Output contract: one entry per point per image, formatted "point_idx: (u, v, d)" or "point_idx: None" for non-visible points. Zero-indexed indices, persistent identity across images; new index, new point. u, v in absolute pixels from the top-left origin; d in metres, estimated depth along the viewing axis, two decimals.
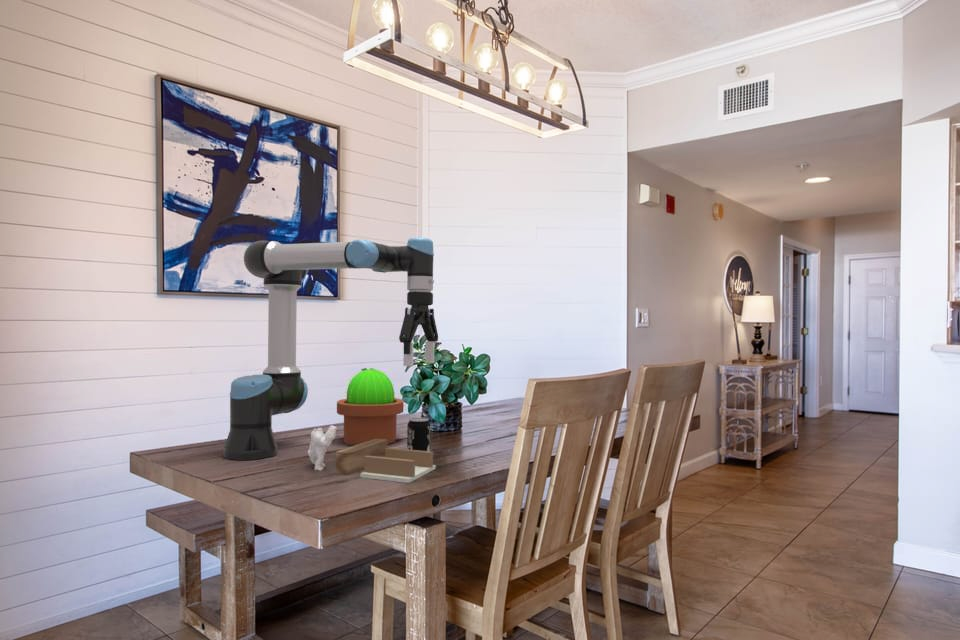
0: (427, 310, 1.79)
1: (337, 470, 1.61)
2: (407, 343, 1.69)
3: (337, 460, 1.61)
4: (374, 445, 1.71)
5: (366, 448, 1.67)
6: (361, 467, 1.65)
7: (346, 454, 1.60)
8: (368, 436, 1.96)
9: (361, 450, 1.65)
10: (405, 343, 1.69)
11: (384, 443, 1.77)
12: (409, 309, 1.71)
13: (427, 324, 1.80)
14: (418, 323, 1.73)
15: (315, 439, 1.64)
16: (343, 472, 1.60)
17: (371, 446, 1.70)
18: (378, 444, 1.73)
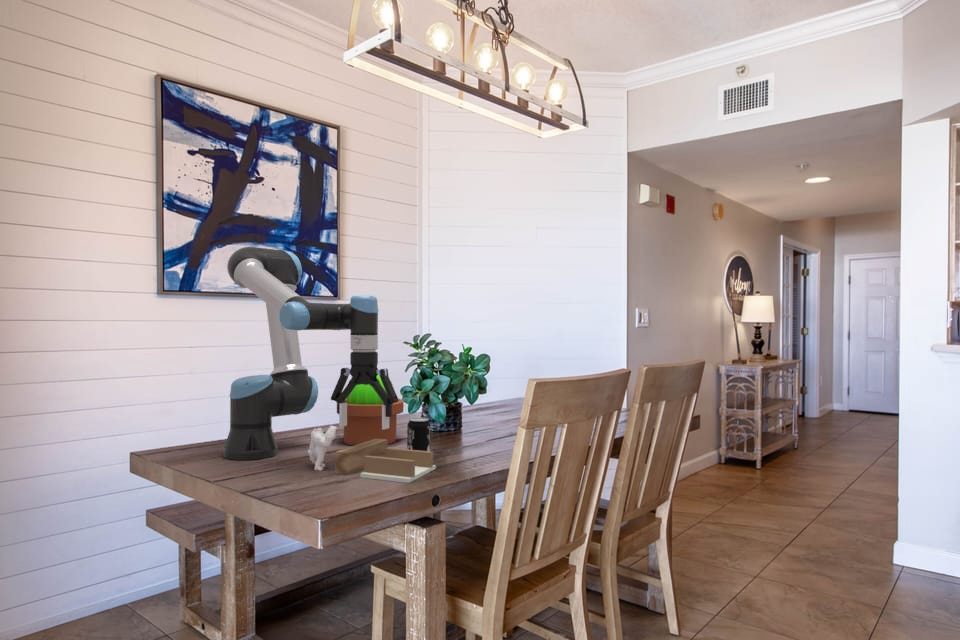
0: (370, 371, 1.68)
1: (337, 470, 1.61)
2: (337, 403, 1.72)
3: (337, 460, 1.61)
4: (374, 445, 1.71)
5: (366, 448, 1.67)
6: (361, 467, 1.65)
7: (346, 454, 1.60)
8: (368, 436, 1.96)
9: (361, 450, 1.65)
10: None
11: (384, 443, 1.77)
12: None
13: None
14: (350, 384, 1.69)
15: (315, 439, 1.64)
16: (343, 472, 1.60)
17: (371, 446, 1.70)
18: (378, 444, 1.73)
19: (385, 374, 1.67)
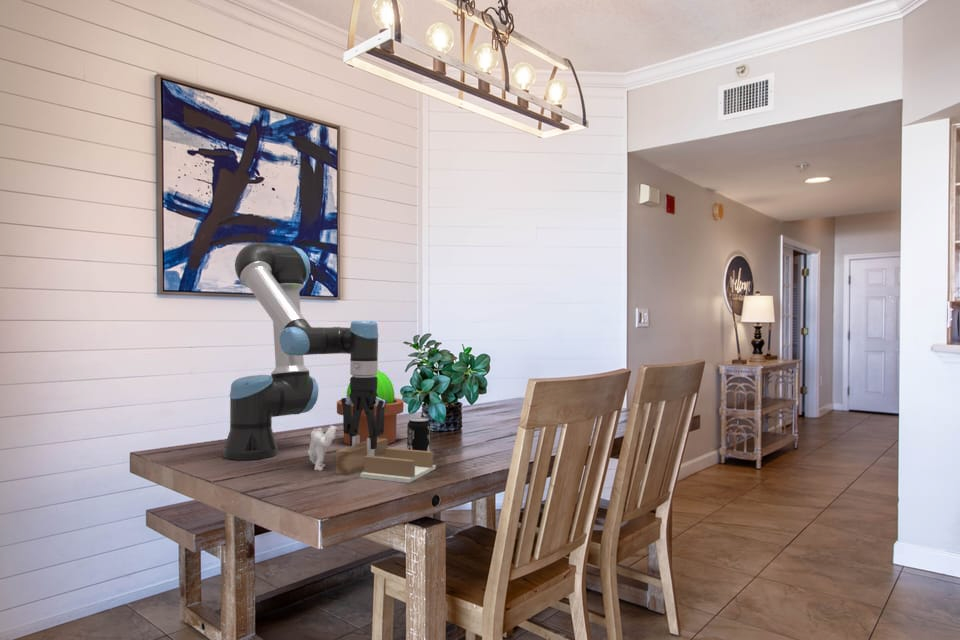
0: (370, 396, 1.67)
1: (338, 469, 1.61)
2: (350, 436, 1.70)
3: (338, 459, 1.61)
4: None
5: (366, 447, 1.67)
6: (361, 466, 1.65)
7: (347, 453, 1.60)
8: None
9: (362, 449, 1.65)
10: None
11: (385, 442, 1.77)
12: None
13: None
14: (354, 412, 1.69)
15: (315, 439, 1.64)
16: (344, 471, 1.60)
17: None
18: (378, 443, 1.73)
19: (382, 406, 1.67)
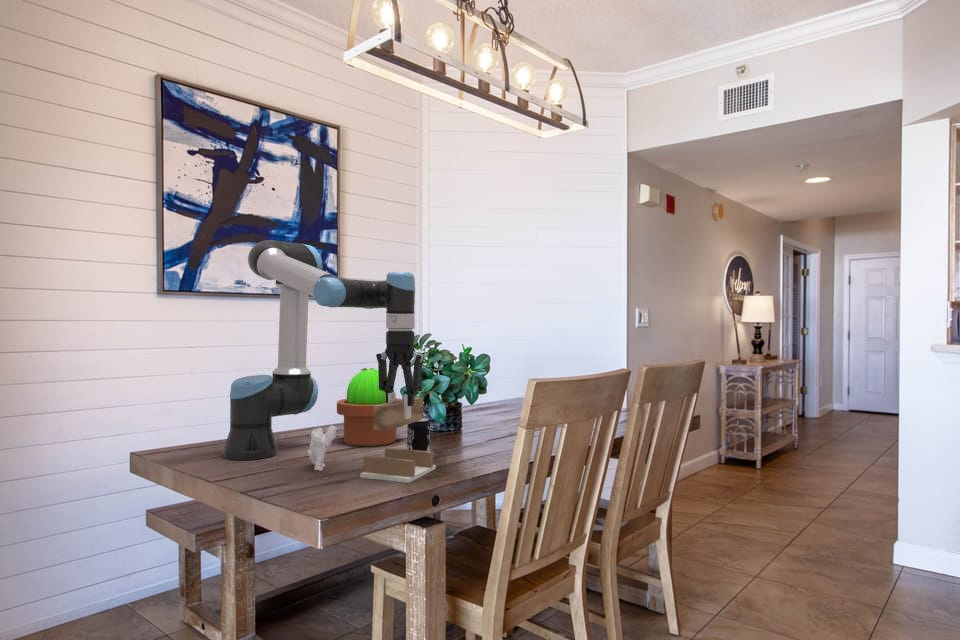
0: (407, 350, 1.60)
1: (375, 425, 1.53)
2: (386, 393, 1.63)
3: (375, 415, 1.53)
4: None
5: (403, 404, 1.60)
6: (399, 423, 1.58)
7: (385, 408, 1.52)
8: (368, 436, 1.96)
9: (399, 405, 1.58)
10: None
11: (420, 401, 1.69)
12: None
13: None
14: (390, 368, 1.62)
15: (315, 439, 1.64)
16: (382, 427, 1.53)
17: None
18: (414, 401, 1.66)
19: (420, 361, 1.60)
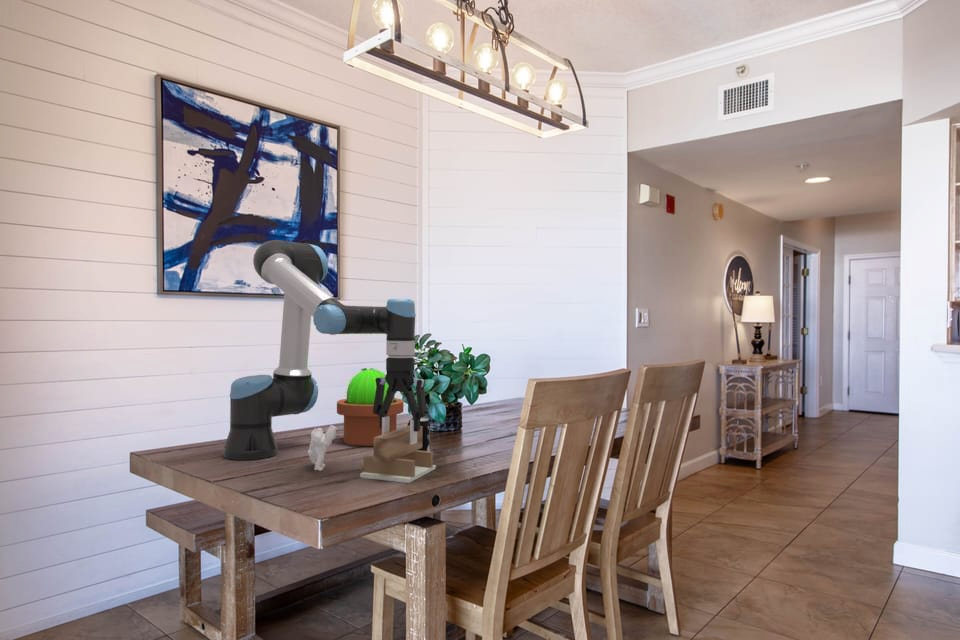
0: (407, 377, 1.60)
1: (375, 457, 1.53)
2: (380, 417, 1.64)
3: (375, 446, 1.53)
4: None
5: (403, 434, 1.60)
6: (398, 453, 1.58)
7: (385, 440, 1.52)
8: (368, 436, 1.96)
9: (399, 436, 1.58)
10: None
11: (420, 429, 1.69)
12: None
13: None
14: (388, 393, 1.62)
15: (315, 439, 1.64)
16: (382, 459, 1.53)
17: (408, 432, 1.63)
18: None
19: (421, 386, 1.60)
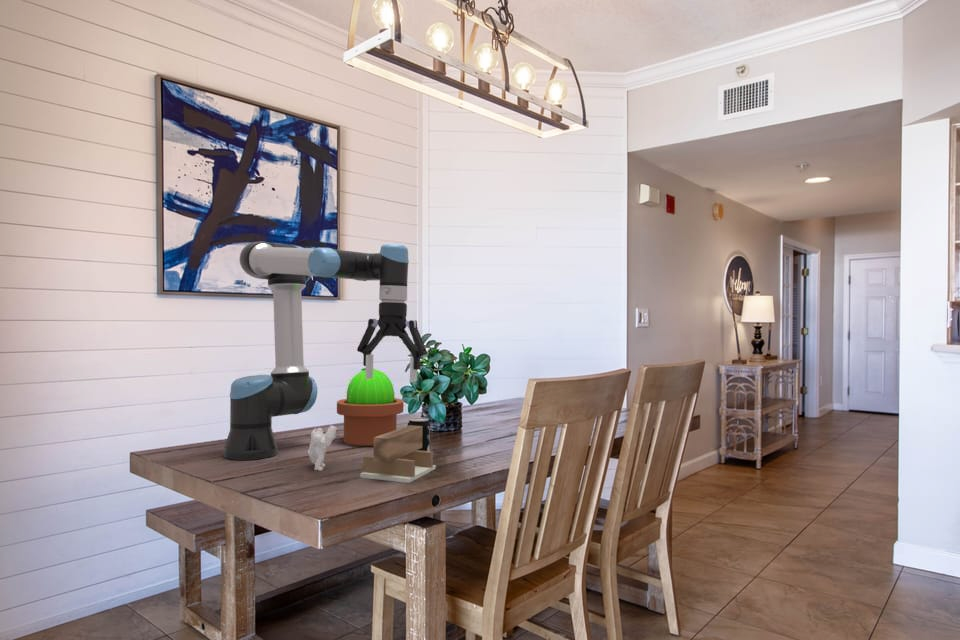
0: (399, 322, 1.63)
1: (375, 457, 1.53)
2: (364, 355, 1.68)
3: (375, 446, 1.53)
4: (410, 431, 1.64)
5: (403, 434, 1.60)
6: (398, 453, 1.58)
7: (385, 440, 1.52)
8: (368, 436, 1.96)
9: (399, 436, 1.58)
10: None
11: (420, 429, 1.69)
12: None
13: None
14: (377, 335, 1.65)
15: (315, 439, 1.64)
16: (382, 459, 1.53)
17: (408, 432, 1.63)
18: (414, 430, 1.66)
19: (414, 326, 1.62)
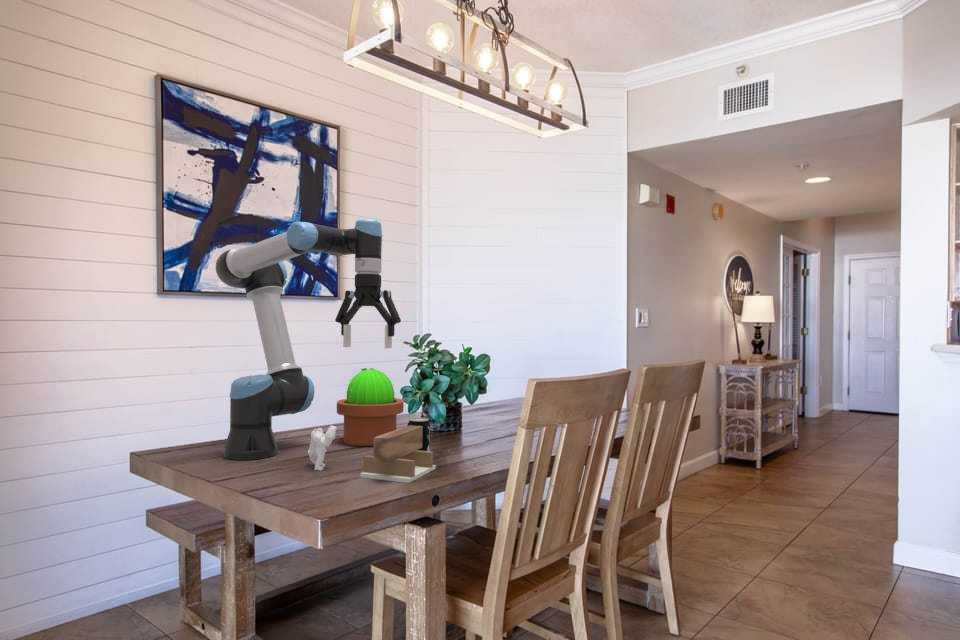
0: (374, 292, 1.73)
1: (375, 457, 1.53)
2: None
3: (375, 446, 1.53)
4: (410, 431, 1.64)
5: (403, 434, 1.60)
6: (398, 453, 1.58)
7: (385, 440, 1.52)
8: (368, 436, 1.96)
9: (399, 436, 1.58)
10: None
11: (420, 429, 1.69)
12: None
13: None
14: (354, 305, 1.75)
15: (315, 439, 1.64)
16: (382, 459, 1.53)
17: (408, 432, 1.63)
18: (414, 430, 1.66)
19: (388, 295, 1.72)
